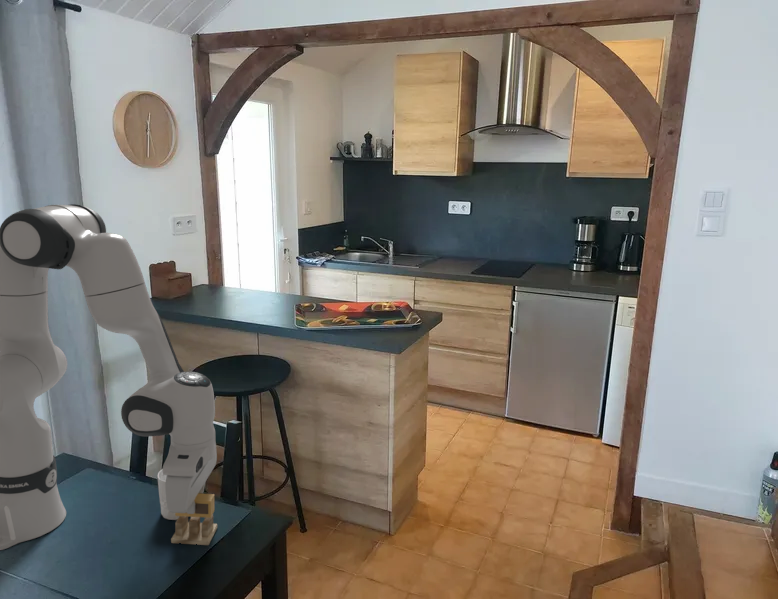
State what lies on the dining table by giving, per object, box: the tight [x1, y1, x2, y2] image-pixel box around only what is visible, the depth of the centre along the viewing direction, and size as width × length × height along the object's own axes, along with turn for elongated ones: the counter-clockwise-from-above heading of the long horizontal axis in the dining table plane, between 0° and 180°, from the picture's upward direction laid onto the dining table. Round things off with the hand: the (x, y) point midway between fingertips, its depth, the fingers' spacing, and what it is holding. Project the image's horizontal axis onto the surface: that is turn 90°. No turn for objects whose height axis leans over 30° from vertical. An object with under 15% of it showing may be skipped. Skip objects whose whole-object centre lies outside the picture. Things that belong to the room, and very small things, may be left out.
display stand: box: [170, 514, 218, 546], centre depth 119 cm, size 8×6×4 cm
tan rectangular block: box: [175, 493, 216, 518], centre depth 118 cm, size 8×3×4 cm, turn 90°
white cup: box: [156, 468, 179, 521], centre depth 127 cm, size 8×8×10 cm
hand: (194, 506), depth 118 cm, fingers closed on tan rectangular block, 3 cm apart
